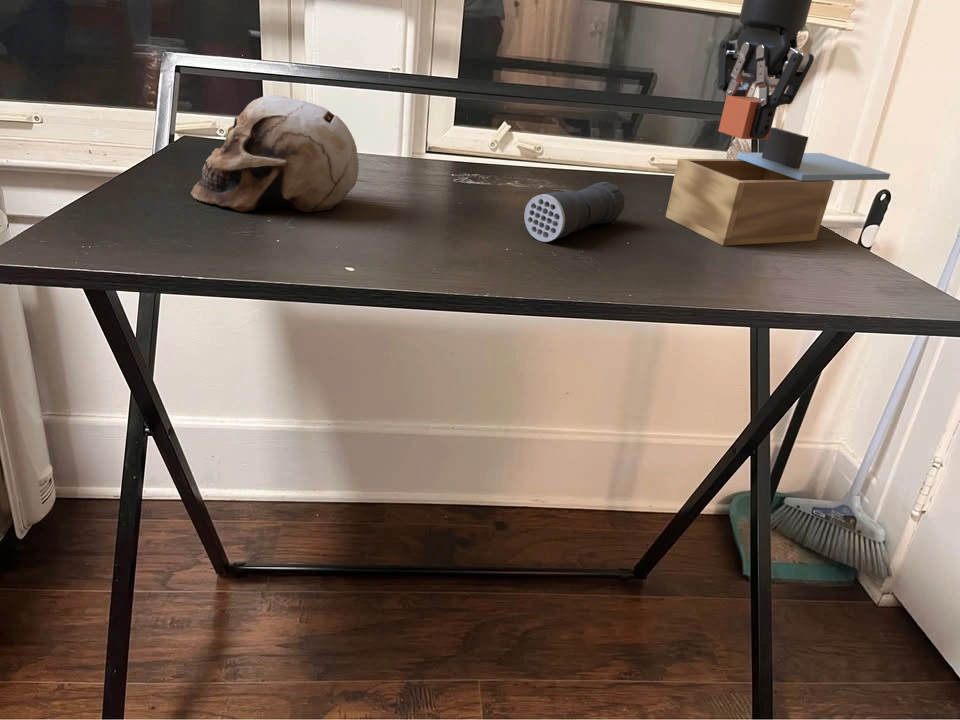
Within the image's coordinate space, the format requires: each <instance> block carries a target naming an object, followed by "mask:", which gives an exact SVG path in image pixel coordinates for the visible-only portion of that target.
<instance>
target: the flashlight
mask: <svg viewBox="0 0 960 720" xmlns="http://www.w3.org/2000/svg"><path fill="white" fill-rule="evenodd" d="M624 207H625V196H624V193H623V191H622V190H621V189H620V187H619V186H617V185H616V184H614V183H611V182H610V181H609V182H608V181H601V182H596V183H593V184H591V185H589V186H587V187H586V188H583V189H581V190H578V191H575V190H574V191H573V190H565V191H551V192H547V193H542V194H538V195H534V196H533V197H532V198H530V200H529V201H528V202H527V204H526V206H525V209H524V218H523V219H524V223H525V227H526V229H527V231H528V233H529V234H530V236H532V237H533V239H535V240H537V241H539V242H543V243H548V242H551V241H555V240H559V239H563V238H564V237H567V236H568V235H569V234H571V233H574V232H578V231H579V230H581V229H582V228H583V227H584V226H593V225H605V224H608V223H611V222H614V221H615V220H617V219H618V218H619V217H620V215H621V214H622V212H623V211H624Z"/></svg>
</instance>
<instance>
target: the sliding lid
mask: <svg viewBox="0 0 960 720" xmlns="http://www.w3.org/2000/svg"><path fill="white" fill-rule="evenodd" d="M808 141H809V136H805V135H802V134H800V133H796V132H792V131H789V130H785V129H782V128H779V127H773V126H772V127H771V131H770V135H769V138H768V139H765V143H764V147H763V150H762V152H737V155H736V159H740V160H743V161H746V162H749V163H752V164H754V165H757V166H760V167H763V168H766V169H769V170H772V171H774V172H777V173H780V174H783V175H786V176H789V177H792V178H794V179H797V180H800V181H822V180H832V181H887V180H889V179H890V176H891V173H889V172H885V171H882V170H879V169H876V168H873V167H869V166H866V165H862V164H859V163H856V162H853V161H849V160H846V159H843V158H840V157H836V156H833V155H830V154H827V153H822V152H805V151H806V147H807V144H808Z"/></svg>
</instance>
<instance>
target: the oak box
mask: <svg viewBox="0 0 960 720" xmlns="http://www.w3.org/2000/svg"><path fill="white" fill-rule="evenodd" d="M834 184H835V180H822V181H800V180H797V179H794V178H792V177H789V176H786V175H783V174H780V173H777V172H774V171H772V170H769V169H766V168H763V167H760V166H757V165H754V164H752V163H749V162H746V161H743V160H740V159H737V158H678V159H677V162H676V167H675V172H674V175H673V180H672V185H671V190H670V194H669V200H668V204H667V208H666V212H665V213H666V214H665V218H667V219H668V220H671V221H673V222H674V223H676V224H679V225H681V226H682V227H684V228H687V229H688V230H690V231H692V232H695V233H697V234H699V235H701V236H702V237H705V238H707V239H709V240H710V241H712V242H714V243H716V244H718V245H720V246H722V247H725V246H727V247H728V246H742V245H760V244H775V243H776V244H777V243H794V242H797V241H798V242H814V241H813V240H815V241H817V238H818V234H819V231H820V228H821V225H822V222H823V219H824V216H825V212H826V210H827V206H828V204H829V199H830V197H831V194H832V190H833V187H834Z"/></svg>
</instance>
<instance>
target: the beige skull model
mask: <svg viewBox="0 0 960 720" xmlns="http://www.w3.org/2000/svg"><path fill="white" fill-rule="evenodd" d="M359 165H360V164H359V155H358V147H357V144H356V141H355V138H354V136H353V135H352V133H351V131H350V129H349V128H348V126H347V125H346V124H345V122H344V121H343V120H342V119H341V118H340V117H339V116H338V115H335V114H333V113H332V112H331V111H330V110H328V109H327V108H325V107H323V106H321V105H318V104H315V103H312V102H309V101H306V100H300V99H297V98H293V97H287V96H284V95H277V94H270V95H269V94H268V95H264V96H261V97H259V98H255V99H254V100H252V101H251V102H249V103H248V104H247V105H246V107H245V108H244V109H243V110H242V112H240V114H239V115H238V116H235V117H234V122H233V125H232V126H229V127H228V129H227V133H226V137H225V139H224V143H223V144H222V146H221V147H219V148H217V147H216V148H214V150H213V151H211V154H210V155H209V156H208V157H207V158H206V160H205V163H204V165H203V166H202V170H201V175H202V177H201V179H200V180H199V181H198V182H197V183H195V185H194V186H193V188H192V190H191V191H190V195H191V196H192V198H193V199H194V198H195V199H194V200H196V199H197V200H196V201H198V200H199V202H201V201H202V202H201V203H204V202H205V204H208V203H209V205H217V206H219V207H221V208H229V209H233V210H234V211H237V212H241V213H243V212H251V211H254V210H256V209H257V208H258V207H262V206H264V205H267V206H270V207H274V208H291V209H293V210H299V211H301V212H305V213H315V212H320V211H326V210H332V209H333V207H335V206H336V205H338V204H339V203H341V202H342V201H343V200H344V199H345V198H346V197H347V195H348V194H349V193H350V192H351V190H352V189H353V188H354V187H355V186H356V183H357V181H358V177H359V169H360V167H359Z"/></svg>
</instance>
